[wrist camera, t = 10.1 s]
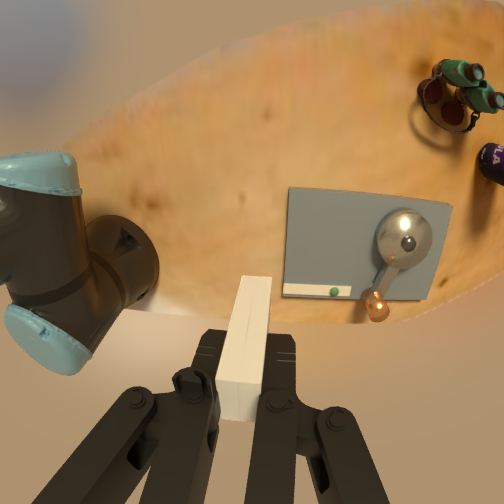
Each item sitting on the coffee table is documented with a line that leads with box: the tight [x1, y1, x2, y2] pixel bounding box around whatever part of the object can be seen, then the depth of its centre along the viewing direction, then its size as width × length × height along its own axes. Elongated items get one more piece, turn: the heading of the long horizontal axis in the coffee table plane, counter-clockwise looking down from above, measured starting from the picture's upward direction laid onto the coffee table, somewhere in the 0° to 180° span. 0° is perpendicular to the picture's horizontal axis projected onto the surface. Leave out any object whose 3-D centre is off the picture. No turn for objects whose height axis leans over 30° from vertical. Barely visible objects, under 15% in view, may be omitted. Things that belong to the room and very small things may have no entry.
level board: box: [283, 187, 453, 300], centre depth 38 cm, size 24×16×2 cm, turn 90°
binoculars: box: [418, 59, 504, 134], centre depth 23 cm, size 9×11×10 cm
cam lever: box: [363, 208, 433, 322], centre depth 35 cm, size 16×8×5 cm, turn 165°
